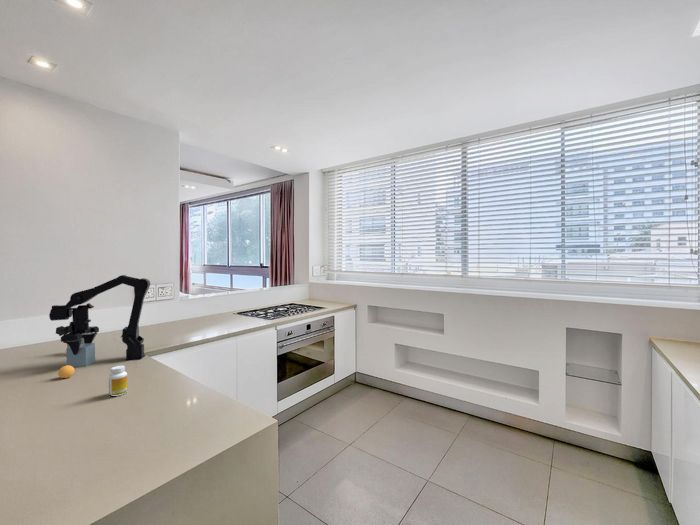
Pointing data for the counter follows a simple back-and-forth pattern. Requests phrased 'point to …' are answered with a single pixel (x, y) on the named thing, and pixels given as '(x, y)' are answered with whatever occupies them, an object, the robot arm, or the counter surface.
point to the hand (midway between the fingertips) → (81, 351)
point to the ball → (66, 371)
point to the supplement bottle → (118, 381)
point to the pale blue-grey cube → (81, 355)
